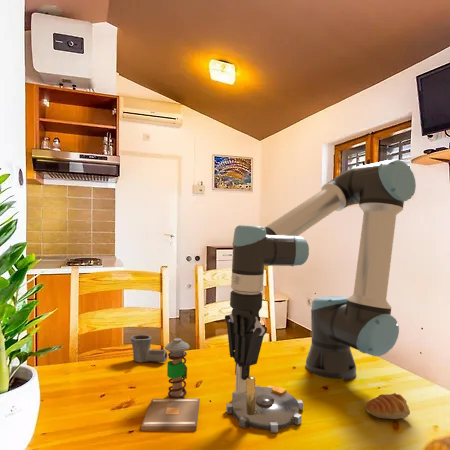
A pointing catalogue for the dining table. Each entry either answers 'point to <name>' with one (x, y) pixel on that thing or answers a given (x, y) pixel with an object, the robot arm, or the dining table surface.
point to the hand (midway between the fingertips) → (241, 391)
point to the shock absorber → (177, 368)
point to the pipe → (146, 350)
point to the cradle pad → (172, 415)
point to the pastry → (388, 406)
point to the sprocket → (264, 407)
